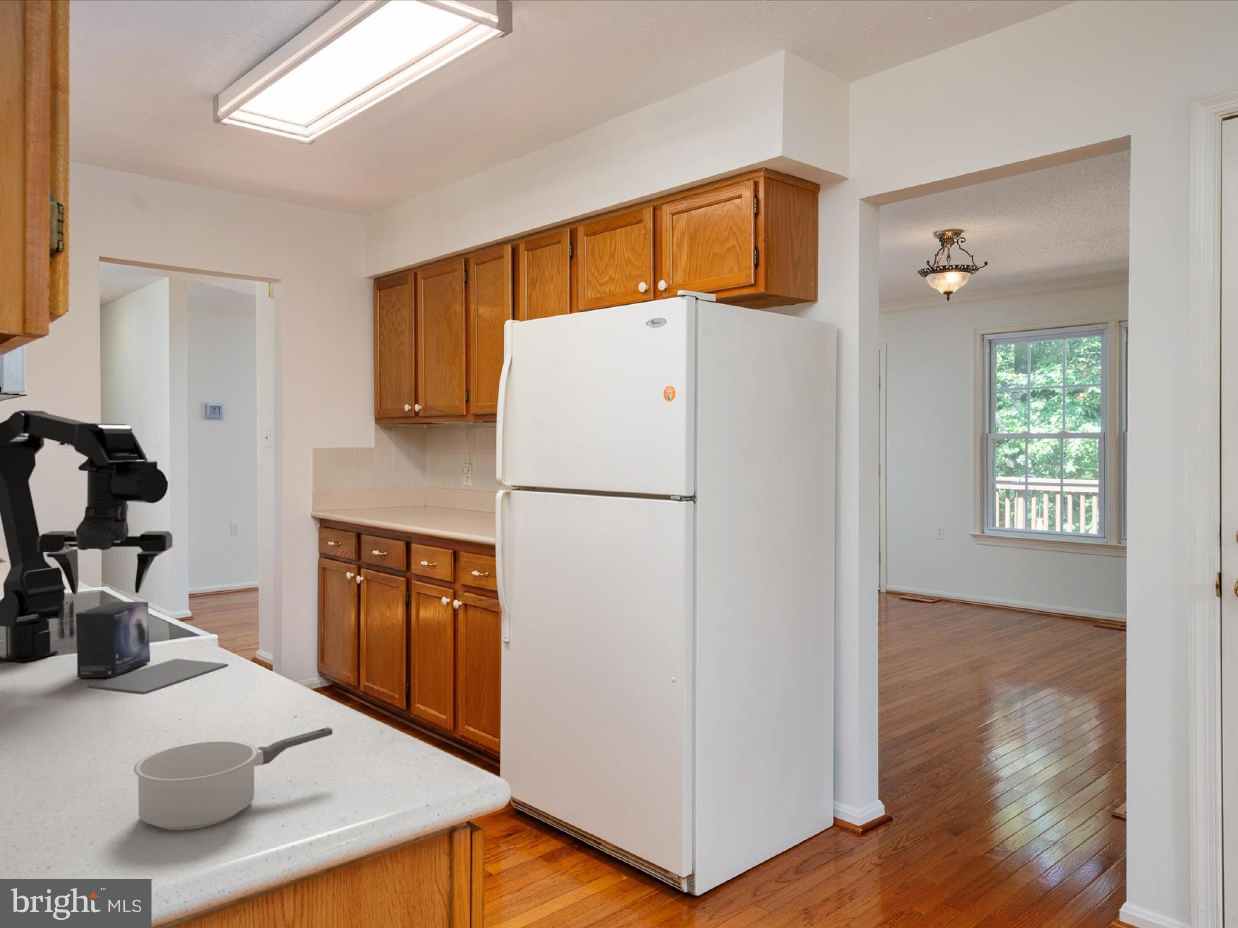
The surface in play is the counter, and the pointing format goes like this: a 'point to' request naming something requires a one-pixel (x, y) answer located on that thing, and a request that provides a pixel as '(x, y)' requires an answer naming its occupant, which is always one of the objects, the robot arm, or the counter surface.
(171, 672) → the mat
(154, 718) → the counter surface
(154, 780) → the saucepan
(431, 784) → the counter surface
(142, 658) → the small box
